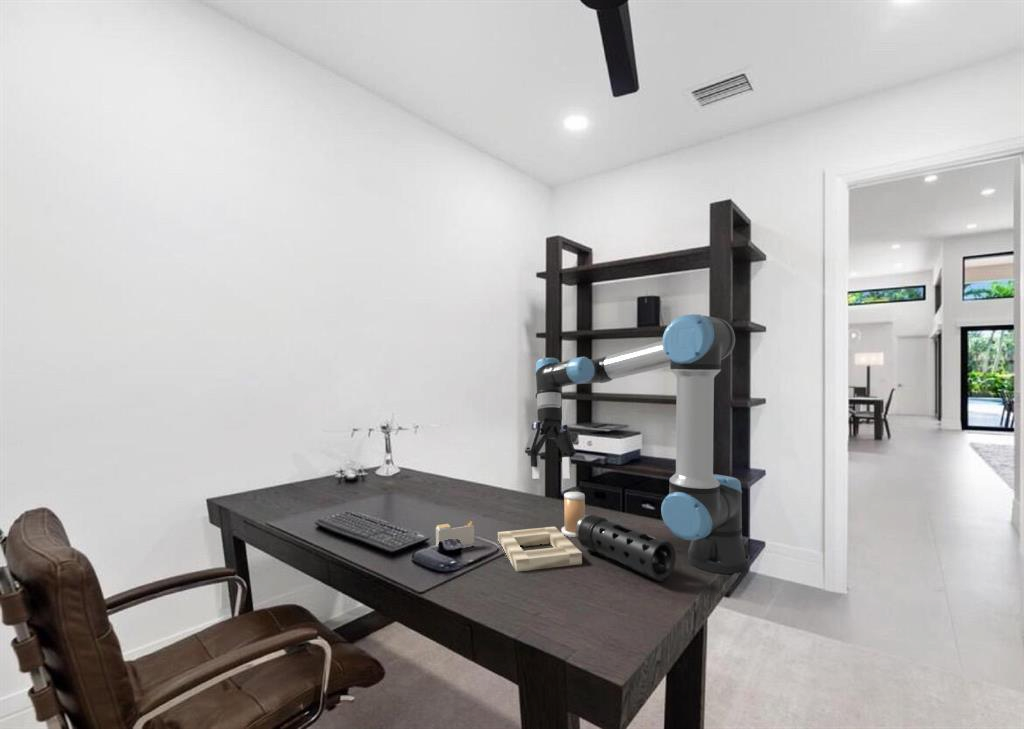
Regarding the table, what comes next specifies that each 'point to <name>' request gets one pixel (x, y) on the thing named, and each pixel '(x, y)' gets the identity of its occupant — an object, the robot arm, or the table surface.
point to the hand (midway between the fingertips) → (552, 478)
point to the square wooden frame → (539, 558)
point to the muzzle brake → (626, 546)
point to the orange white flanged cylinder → (573, 512)
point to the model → (455, 533)
